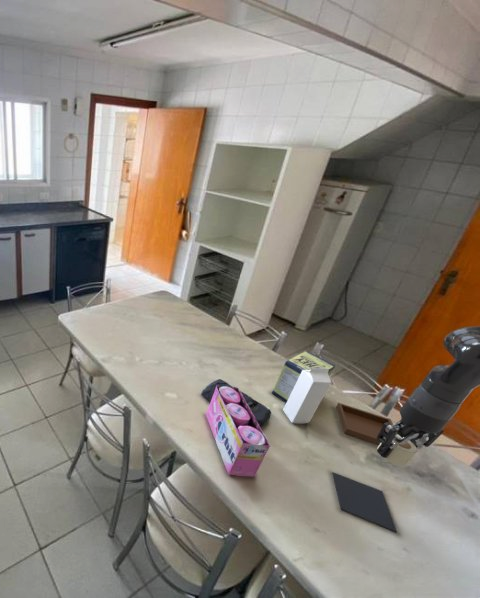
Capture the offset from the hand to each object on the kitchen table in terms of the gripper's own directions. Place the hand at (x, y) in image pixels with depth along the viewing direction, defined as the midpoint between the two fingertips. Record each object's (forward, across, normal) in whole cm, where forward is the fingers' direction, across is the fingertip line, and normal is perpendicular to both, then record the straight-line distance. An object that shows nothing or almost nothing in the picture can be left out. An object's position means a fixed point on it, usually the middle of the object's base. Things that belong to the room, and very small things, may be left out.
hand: (393, 454), depth 84 cm
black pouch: (+17, -20, +34) cm, 43 cm away
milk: (+17, -1, +28) cm, 33 cm away
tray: (+17, +21, +22) cm, 35 cm away
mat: (+17, -1, -2) cm, 17 cm away
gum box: (+17, -31, +17) cm, 40 cm away
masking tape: (+1, 0, 0) cm, 1 cm away
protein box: (+17, +7, +39) cm, 43 cm away
